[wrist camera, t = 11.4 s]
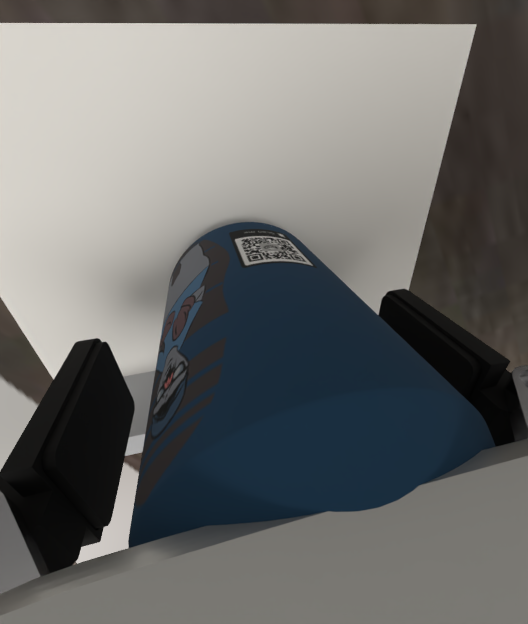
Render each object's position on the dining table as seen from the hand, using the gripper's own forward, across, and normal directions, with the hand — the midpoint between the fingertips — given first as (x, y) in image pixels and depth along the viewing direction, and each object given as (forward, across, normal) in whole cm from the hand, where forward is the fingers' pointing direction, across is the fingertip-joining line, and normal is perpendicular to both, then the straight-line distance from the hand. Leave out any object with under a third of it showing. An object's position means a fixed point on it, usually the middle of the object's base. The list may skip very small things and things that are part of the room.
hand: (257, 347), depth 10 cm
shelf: (+8, 0, -2) cm, 8 cm away
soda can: (+5, 0, 0) cm, 5 cm away
